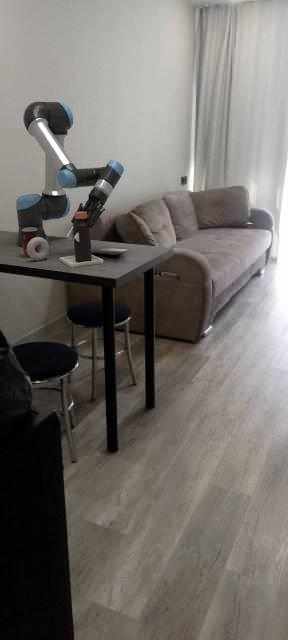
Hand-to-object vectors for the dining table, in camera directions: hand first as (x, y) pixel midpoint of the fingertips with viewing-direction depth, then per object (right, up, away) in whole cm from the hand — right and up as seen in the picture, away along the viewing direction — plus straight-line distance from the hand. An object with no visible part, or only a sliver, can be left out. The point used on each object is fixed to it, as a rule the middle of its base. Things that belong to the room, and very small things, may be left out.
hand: (72, 239), depth 203 cm
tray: (+3, -9, +6) cm, 11 cm away
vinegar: (+4, -9, +5) cm, 11 cm away
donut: (-16, -8, +11) cm, 21 cm away
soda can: (-21, -5, +19) cm, 28 cm away
